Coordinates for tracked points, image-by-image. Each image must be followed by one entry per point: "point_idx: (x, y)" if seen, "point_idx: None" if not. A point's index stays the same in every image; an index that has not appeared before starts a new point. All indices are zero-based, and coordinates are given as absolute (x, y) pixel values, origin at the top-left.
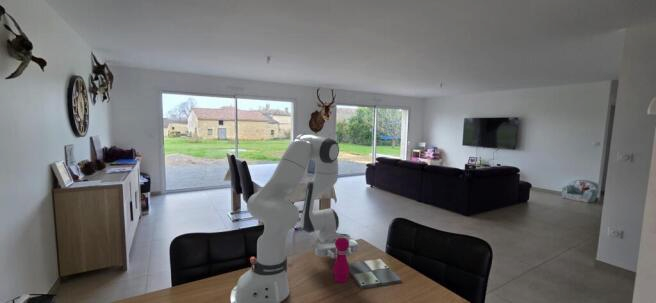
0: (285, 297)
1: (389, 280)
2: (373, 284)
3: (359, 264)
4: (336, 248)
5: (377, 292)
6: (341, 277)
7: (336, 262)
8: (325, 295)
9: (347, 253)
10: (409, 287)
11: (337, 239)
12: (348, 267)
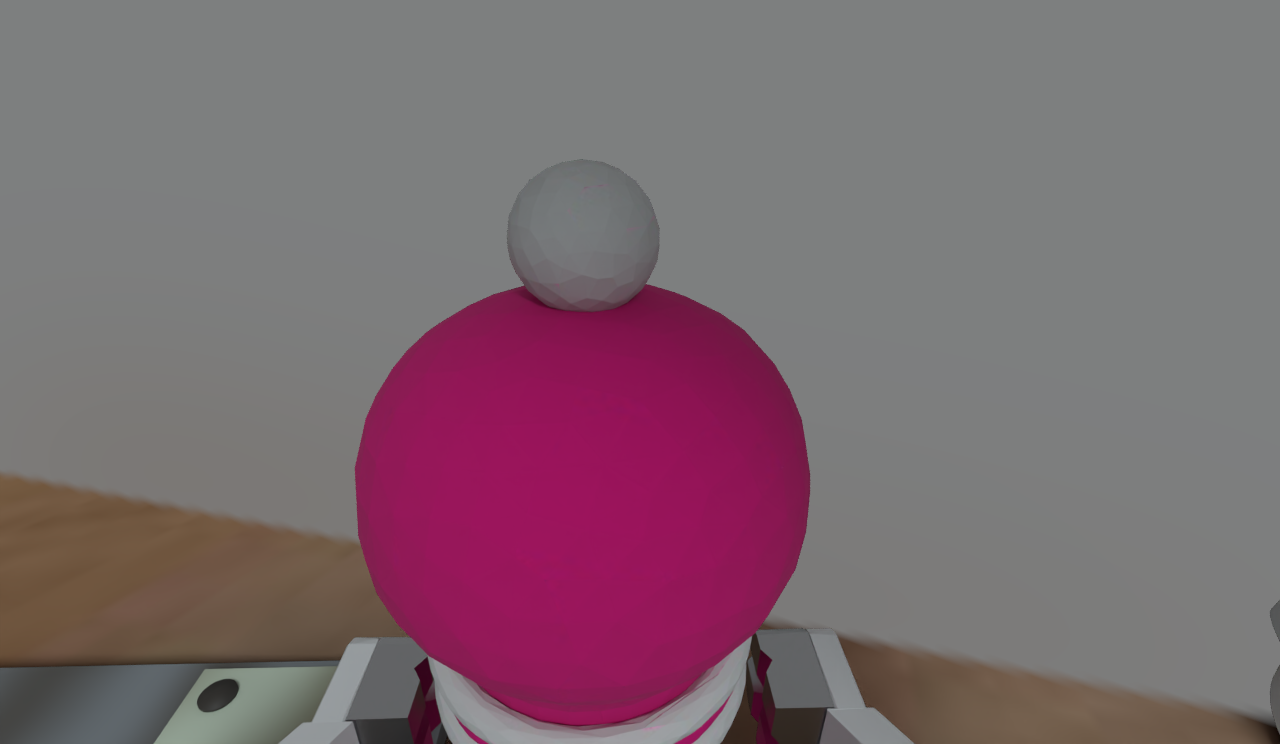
0: (1276, 685)
1: (65, 686)
2: (307, 662)
3: None
4: (733, 660)
5: (357, 599)
6: None
7: None
8: (853, 662)
9: (417, 738)
10: (20, 596)
11: (748, 352)
12: None
